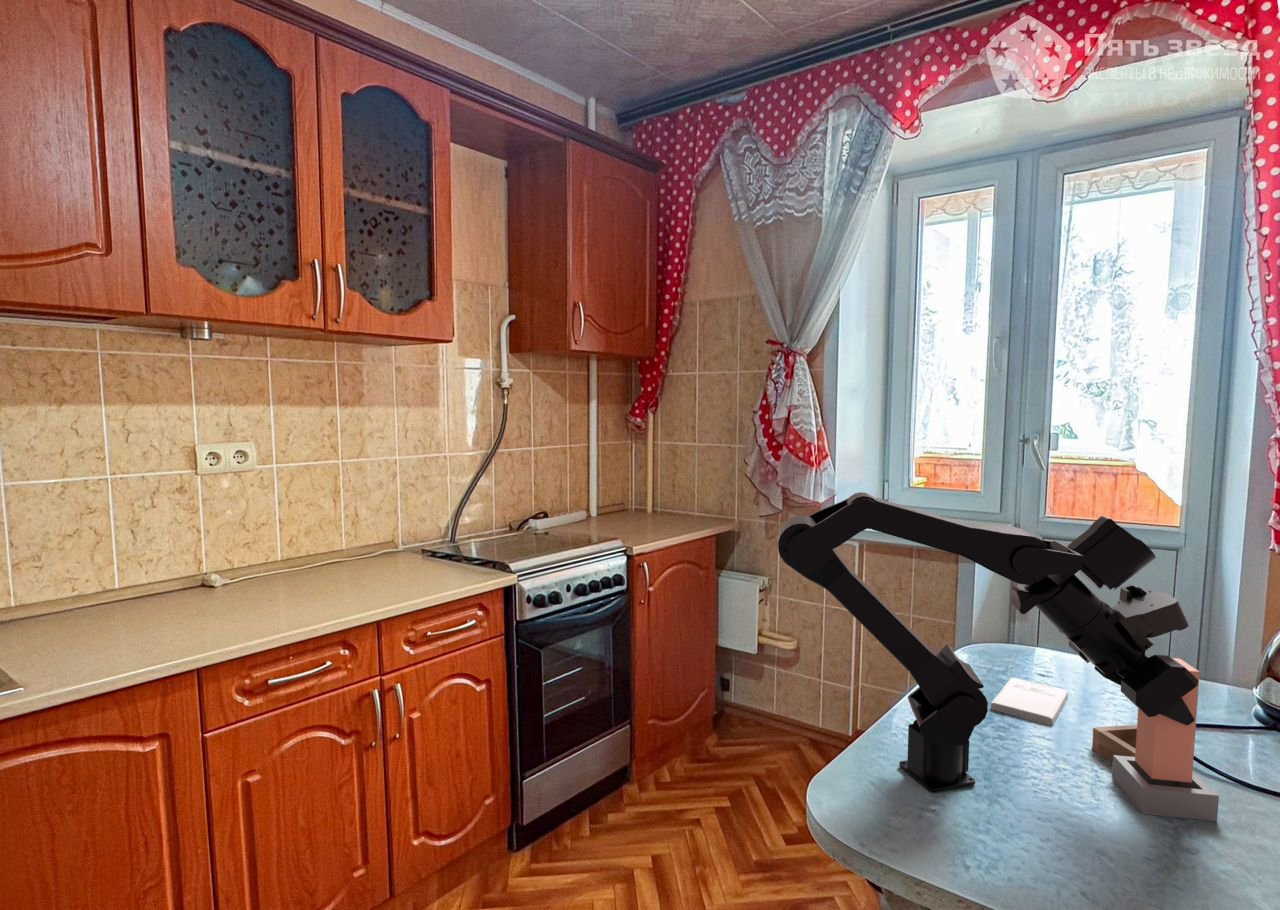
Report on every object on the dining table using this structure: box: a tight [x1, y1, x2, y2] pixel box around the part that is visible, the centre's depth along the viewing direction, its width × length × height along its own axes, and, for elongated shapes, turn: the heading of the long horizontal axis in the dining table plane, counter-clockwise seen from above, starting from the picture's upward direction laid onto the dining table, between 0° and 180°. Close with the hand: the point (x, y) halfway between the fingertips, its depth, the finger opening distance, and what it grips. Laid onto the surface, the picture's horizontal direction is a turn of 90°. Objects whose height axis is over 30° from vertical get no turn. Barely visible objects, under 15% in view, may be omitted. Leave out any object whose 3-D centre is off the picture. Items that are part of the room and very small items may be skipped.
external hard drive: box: [990, 677, 1069, 726], centre depth 107 cm, size 2×8×12 cm
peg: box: [1135, 655, 1201, 783], centre depth 80 cm, size 4×4×13 cm
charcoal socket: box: [1111, 755, 1220, 822], centre depth 81 cm, size 7×7×3 cm
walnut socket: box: [1091, 724, 1137, 764], centre depth 89 cm, size 7×7×3 cm
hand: (1179, 713), depth 80 cm, fingers closed on peg, 4 cm apart
